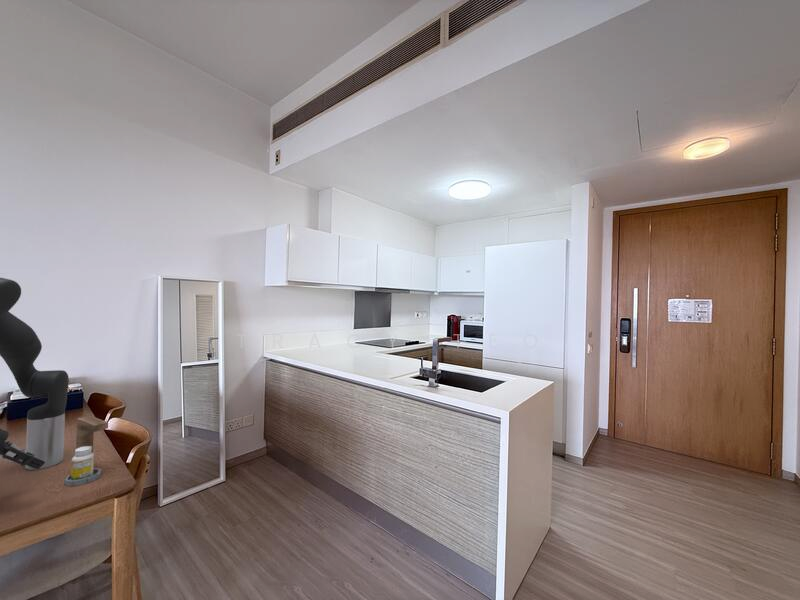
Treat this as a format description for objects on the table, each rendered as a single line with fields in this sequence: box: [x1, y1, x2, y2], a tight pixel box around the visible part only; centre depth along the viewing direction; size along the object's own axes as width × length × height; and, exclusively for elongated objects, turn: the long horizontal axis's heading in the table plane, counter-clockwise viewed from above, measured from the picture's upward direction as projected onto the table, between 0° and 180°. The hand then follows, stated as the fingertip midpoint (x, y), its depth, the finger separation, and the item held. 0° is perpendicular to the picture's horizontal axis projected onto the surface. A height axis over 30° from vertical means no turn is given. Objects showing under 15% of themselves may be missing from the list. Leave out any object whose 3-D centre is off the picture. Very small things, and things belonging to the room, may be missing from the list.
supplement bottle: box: [70, 446, 95, 481], centre depth 108 cm, size 5×5×10 cm
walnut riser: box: [75, 415, 109, 453], centre depth 111 cm, size 4×13×18 cm, turn 63°
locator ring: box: [64, 467, 102, 487], centre depth 108 cm, size 8×8×2 cm
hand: (36, 461), depth 98 cm, fingers open, 8 cm apart
